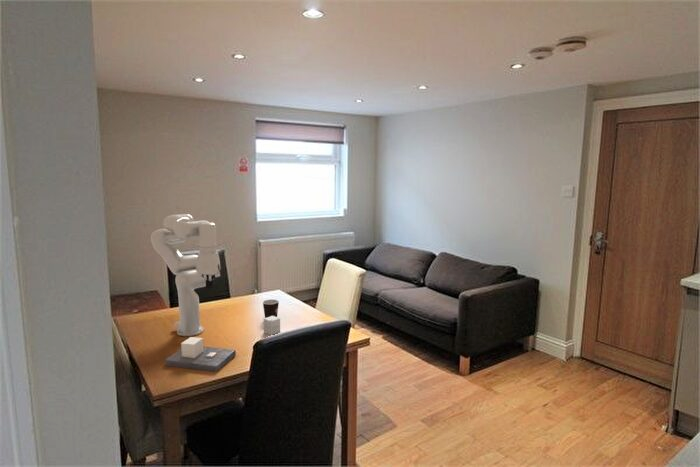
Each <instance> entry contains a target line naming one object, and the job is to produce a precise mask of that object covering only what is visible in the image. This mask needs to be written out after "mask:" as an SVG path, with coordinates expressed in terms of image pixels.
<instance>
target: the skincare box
mask: <svg viewBox="0 0 700 467" xmlns="http://www.w3.org/2000/svg"><path fill="white" fill-rule="evenodd" d="M263 332H264V333H265V334H268V335H271V336H272V335H274V334H275V335H276V334H277V333H280V332H281V318H280V317H278V316H277V317H275V316H270V317H267V318H265V317H264V318H263Z"/></svg>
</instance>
